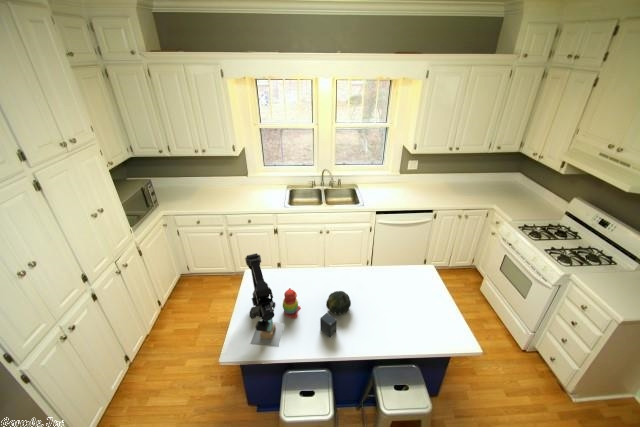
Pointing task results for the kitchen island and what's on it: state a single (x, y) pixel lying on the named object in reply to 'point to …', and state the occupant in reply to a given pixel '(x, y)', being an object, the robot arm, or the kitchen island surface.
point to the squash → (338, 302)
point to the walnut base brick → (268, 333)
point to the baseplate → (269, 342)
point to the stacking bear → (291, 304)
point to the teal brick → (270, 324)
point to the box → (328, 325)
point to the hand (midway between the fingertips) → (267, 325)
